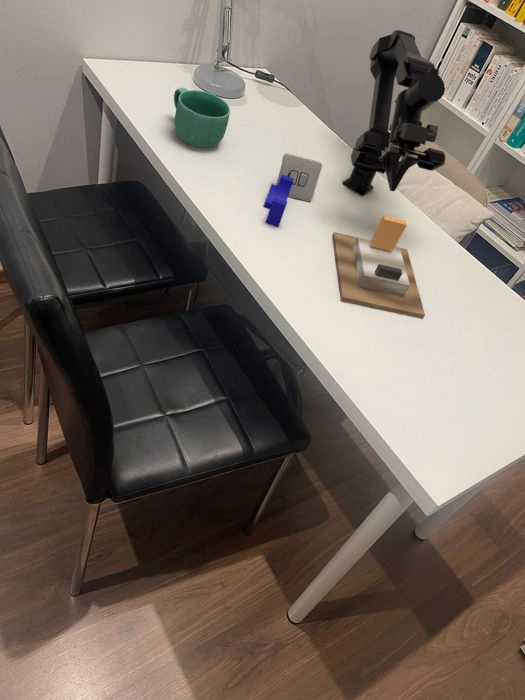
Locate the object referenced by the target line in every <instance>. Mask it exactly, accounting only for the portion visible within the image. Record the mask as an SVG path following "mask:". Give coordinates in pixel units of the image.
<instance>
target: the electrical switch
mask: <svg viewBox="0 0 525 700" xmlns="http://www.w3.org/2000/svg"><path fill="white" fill-rule="evenodd" d="M322 168H323V164H322V162H320V161H317V160H314V159H310V158H306V157H302V156H299V155H294V154H293V153H292V154H291V153H287V152H286V153H284V154H283V155H282V160H281V167H280V168H279V169H280V170H279V173H278V176H277V179H276V184H275V185H277V186H278V184H279V181H280V178H281V175H284V176H287V177H290V178H293V179H294V181H293V184H292V186H291V189H290V192H289V195H288V198H294V199H298V200H302V201H305V202H311V201H313V197H314V195H315V191H316V188H317V185H318V182H319V177H320V176H321V172H322V171H321V170H322Z"/></svg>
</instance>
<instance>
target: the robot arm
mask: <svg viewBox="0 0 525 700" xmlns="http://www.w3.org/2000/svg"><path fill="white" fill-rule="evenodd" d="M415 41H416V37H415V35H413V33H410V32H406V31H404V30H400V29H396V30H395V29H394V30H393V32H392V33H390V34H388V35H385V36H382V37H380V38H378V40H376V42H375V43H374V44H373V46H372V47H371V50H370V53H369V60H370V66H369V67H370V68H369V70H370V72H371V75H372V77H373V79H374V87H373V94H372V100H371V101H372V102H371V109H370V115H369V123H368V124H369V125H368V130H366V131H365V132H363V133H362V134H361V135H360V136H359V137H357V139H356V142H355V145H354V147H353V149H352V150H351V154H350V161H351V165H352V171H351V173H350V175H349V177H348V178H346V179H345V180H343V181H342V183H341V184H342V185H344V187H347V188H348V189H349V190H351V191H354V192H355V193H357V194H358V195H360V196H361V197H362V196H366V195H367V194H368V193H370V192H371V191H372V190H374V188H375V187H374V186H373V185H371V184H372V182H373V180H374V177H375V176H376V173H380V174H385V175H386V179H387V183H388V187H389V191H390V192H395V191H397V188H398V186H399V184H400V182H401V181H402V179H403V178H404V176H405V174H406V173H407V171H409V169H410V168H411V167H414V166H415V165H417V167H418V168H419V169H422V170H423V169H424V170H426V171H434V170H437V169H439V168H440V167H443V166H444V165H445V164H446V158H447V157H446V154H445V152H444V151H443V150H440V149H439V150H438V149H436V148H432V147H429V148H427V149H425V150H423V151H422V150H421V151H420V150H417V149H415V148H419V147H421V145H423V146H425V145H426V143H427V142H429V143H434V142H435V141H436V139H437V136H438V130H439V125H438V126H437V125H434V124H427V125H426V126H423V122H422V121H421V119H422V113H423V112H424V111H427V110H428V109H429V108H430V107H432V106H433V105H435V103H437V102H438V101H439V100H441V98H443V96H444V94H445V91H446V87H445V83H444V80H443V79H442V77H441V76H440V74H439V72H440V69H439V68H436V67H435V64H434V63H433V62H432V61H430V60H428V59H426V58H425V57H423V56H422V55H421V53H420V50H419V47H418V46H417V43H416V42H415ZM395 80H396V83H397V84H396V85H398V86H401V87H404V88H407V89H403V90H401V92H399V93H398V94H397V97H396V98H395V100H394V103H395V105H394V106H395V108H394V112H393V117H392V123H391V124H390V118H391V111H392V110H391V109H392V100H393V94H394V86H395ZM389 130H390V131H389Z"/></svg>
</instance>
